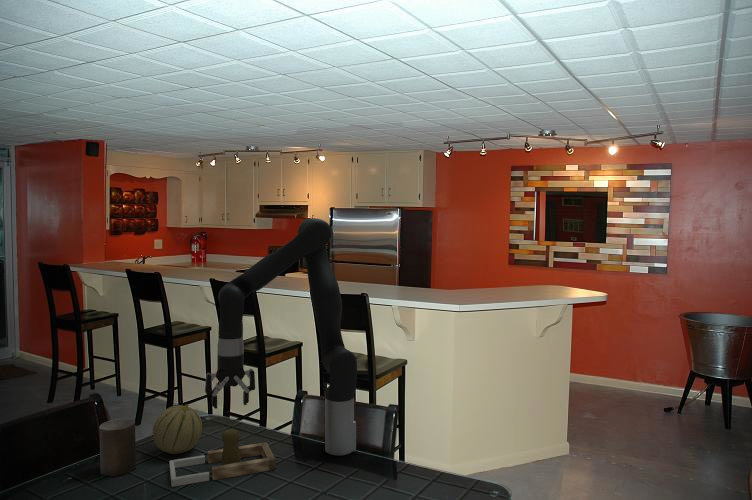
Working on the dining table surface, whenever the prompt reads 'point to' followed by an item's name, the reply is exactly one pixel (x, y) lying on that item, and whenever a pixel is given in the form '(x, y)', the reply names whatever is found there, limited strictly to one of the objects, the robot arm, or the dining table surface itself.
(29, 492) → the dining table surface
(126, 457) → the pillar candle
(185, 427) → the cantaloupe
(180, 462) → the grey u-shaped staple
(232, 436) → the olive gourd
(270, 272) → the robot arm
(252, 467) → the oak channel
